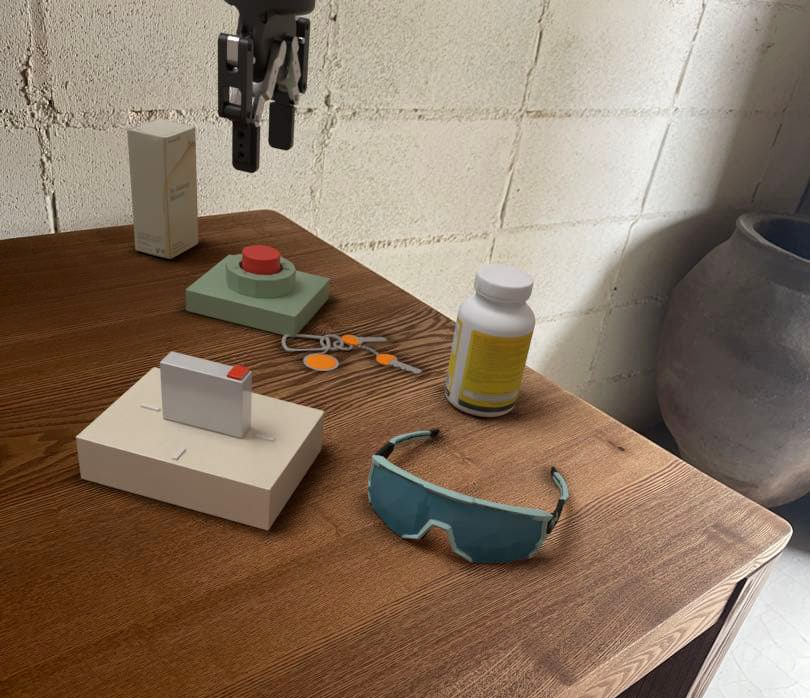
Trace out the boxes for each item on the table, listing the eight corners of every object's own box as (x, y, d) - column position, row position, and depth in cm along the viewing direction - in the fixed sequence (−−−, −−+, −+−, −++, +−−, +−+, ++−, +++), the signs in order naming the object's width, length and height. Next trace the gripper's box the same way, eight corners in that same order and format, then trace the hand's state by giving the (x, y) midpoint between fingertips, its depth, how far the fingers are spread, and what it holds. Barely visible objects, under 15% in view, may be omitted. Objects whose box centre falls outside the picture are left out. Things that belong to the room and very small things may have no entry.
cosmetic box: (170, 261, 90) (165, 138, 83) (132, 251, 91) (124, 128, 83) (200, 243, 95) (198, 125, 87) (164, 233, 96) (159, 116, 88)
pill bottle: (526, 419, 75) (558, 292, 68) (456, 422, 73) (482, 292, 66) (499, 381, 80) (526, 259, 72) (433, 383, 78) (455, 258, 70)
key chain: (282, 371, 76) (282, 362, 76) (280, 332, 82) (281, 324, 81) (422, 379, 79) (424, 371, 78) (412, 341, 84) (413, 333, 84)
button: (235, 272, 82) (236, 254, 81) (250, 259, 85) (251, 242, 84) (271, 280, 81) (272, 262, 80) (285, 267, 84) (286, 250, 83)
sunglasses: (337, 522, 60) (348, 459, 57) (410, 447, 72) (421, 392, 70) (530, 591, 57) (550, 528, 55) (571, 500, 69) (589, 445, 67)
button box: (185, 311, 82) (184, 270, 80) (229, 274, 90) (229, 236, 87) (294, 338, 81) (296, 298, 78) (328, 298, 88) (331, 261, 86)
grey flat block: (162, 418, 61) (159, 358, 58) (173, 406, 62) (171, 347, 59) (241, 438, 60) (242, 379, 57) (251, 426, 62) (252, 367, 59)
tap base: (80, 478, 60) (75, 434, 58) (156, 405, 69) (153, 364, 66) (268, 531, 59) (270, 487, 56) (321, 449, 67) (325, 409, 65)
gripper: (260, -76, 72) (256, 132, 82) (181, -69, 61) (187, 170, 71) (345, -60, 71) (330, 149, 81) (281, -50, 60) (272, 190, 70)
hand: (263, 158), depth 76 cm, fingers open, 7 cm apart
